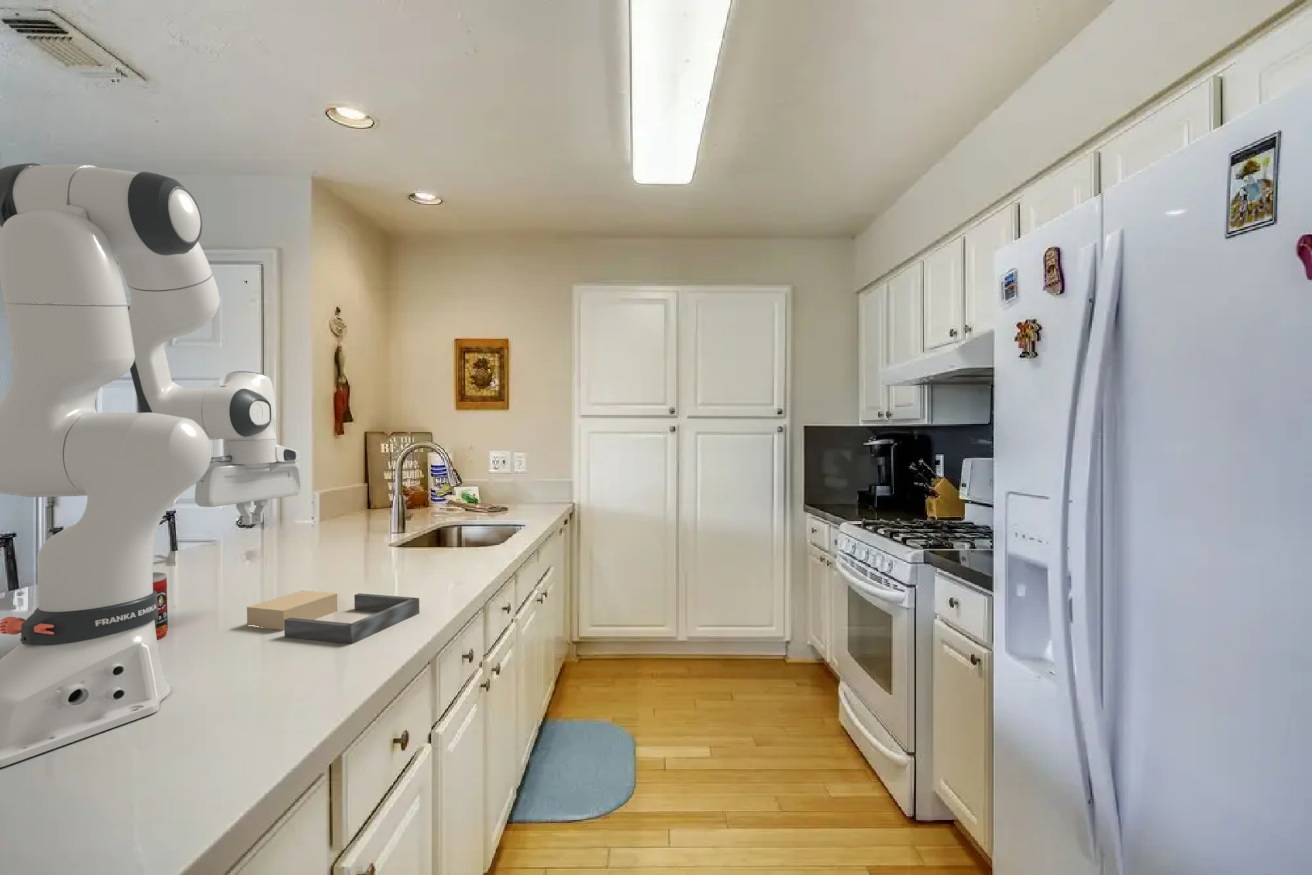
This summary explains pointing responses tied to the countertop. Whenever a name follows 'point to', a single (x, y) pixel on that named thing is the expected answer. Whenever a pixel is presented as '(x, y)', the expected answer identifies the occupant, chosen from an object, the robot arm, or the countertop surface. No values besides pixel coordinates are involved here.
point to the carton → (292, 608)
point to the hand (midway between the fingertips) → (253, 523)
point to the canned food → (161, 603)
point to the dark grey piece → (388, 615)
